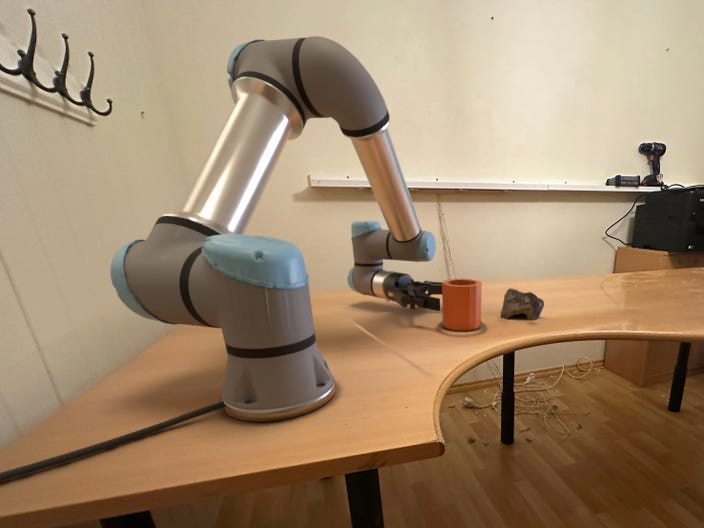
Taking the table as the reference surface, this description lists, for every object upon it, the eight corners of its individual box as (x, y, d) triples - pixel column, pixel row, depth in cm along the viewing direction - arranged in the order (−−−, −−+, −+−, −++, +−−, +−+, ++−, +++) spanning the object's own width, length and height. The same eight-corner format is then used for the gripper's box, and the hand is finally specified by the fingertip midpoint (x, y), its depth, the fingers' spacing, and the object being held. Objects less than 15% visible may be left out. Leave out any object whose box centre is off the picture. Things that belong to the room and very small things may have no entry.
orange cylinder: (456, 332, 89) (455, 288, 85) (436, 323, 95) (435, 281, 92) (487, 326, 94) (489, 283, 90) (466, 317, 100) (467, 277, 96)
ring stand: (454, 339, 88) (454, 298, 84) (429, 326, 96) (428, 289, 93) (494, 331, 94) (495, 293, 90) (467, 319, 102) (468, 284, 99)
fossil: (541, 311, 108) (546, 282, 101) (541, 335, 103) (546, 307, 95) (501, 308, 109) (503, 279, 101) (499, 332, 103) (501, 303, 96)
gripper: (427, 292, 115) (488, 304, 104) (356, 310, 96) (421, 327, 85) (427, 266, 112) (489, 275, 101) (353, 278, 93) (420, 292, 82)
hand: (458, 299), depth 93 cm, fingers open, 13 cm apart
